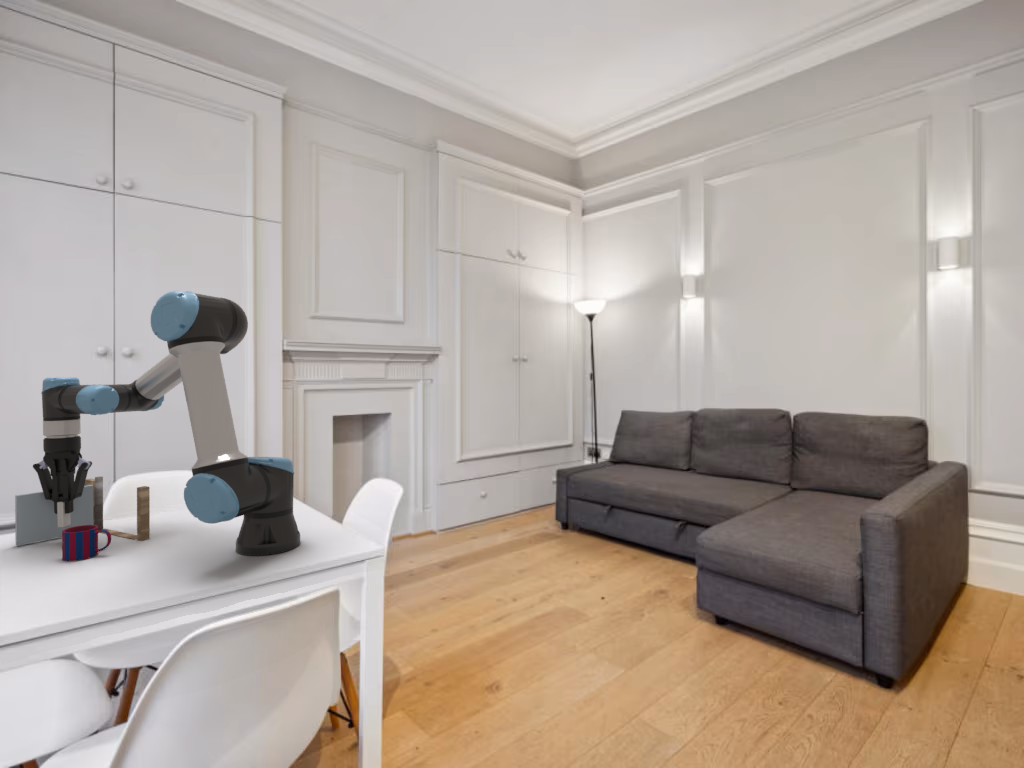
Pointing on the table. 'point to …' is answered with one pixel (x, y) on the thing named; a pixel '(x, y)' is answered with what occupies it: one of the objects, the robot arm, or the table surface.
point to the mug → (81, 542)
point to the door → (48, 516)
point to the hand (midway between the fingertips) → (64, 525)
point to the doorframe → (142, 510)
